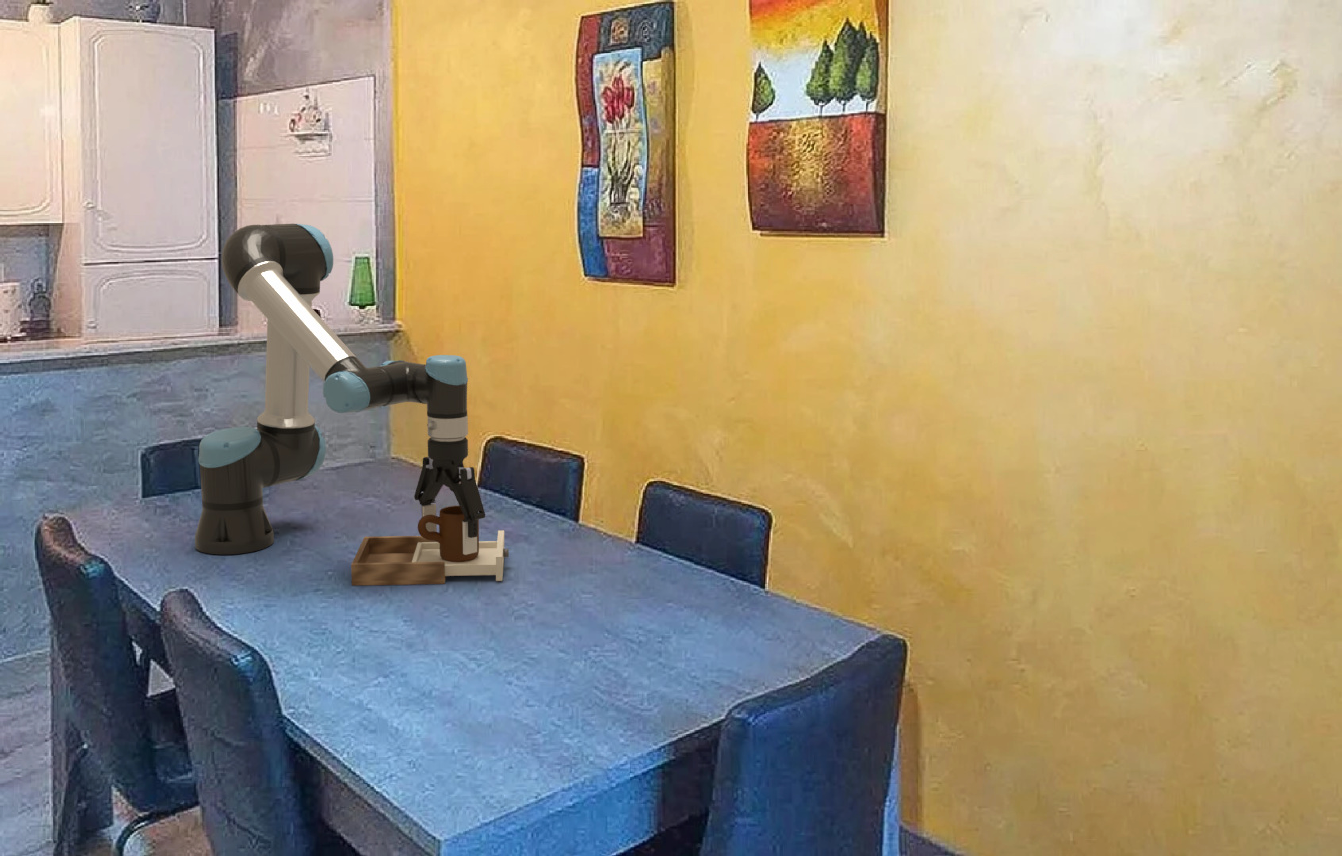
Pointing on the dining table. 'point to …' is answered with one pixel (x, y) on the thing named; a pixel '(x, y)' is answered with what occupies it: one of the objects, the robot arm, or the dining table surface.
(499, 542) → the drawer
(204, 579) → the dining table surface
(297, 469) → the robot arm
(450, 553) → the mug
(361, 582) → the frame
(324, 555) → the dining table surface
